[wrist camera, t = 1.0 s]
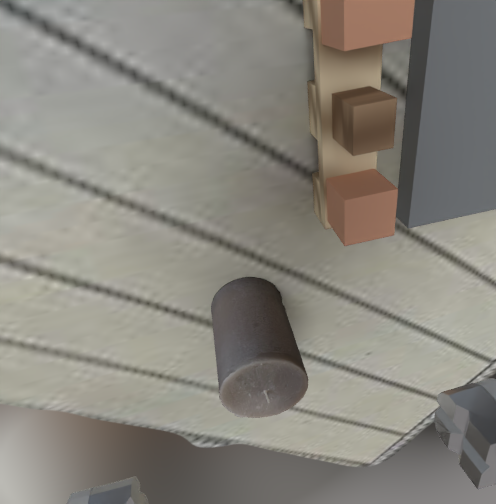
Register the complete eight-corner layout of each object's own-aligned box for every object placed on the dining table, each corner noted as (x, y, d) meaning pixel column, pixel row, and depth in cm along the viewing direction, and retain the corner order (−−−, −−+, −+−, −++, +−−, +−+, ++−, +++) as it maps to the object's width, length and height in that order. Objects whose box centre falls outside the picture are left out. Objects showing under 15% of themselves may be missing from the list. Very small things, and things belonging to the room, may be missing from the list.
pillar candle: (294, 289, 51) (331, 381, 38) (259, 338, 55) (282, 435, 42) (229, 266, 47) (247, 360, 35) (197, 321, 51) (203, 422, 39)
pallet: (300, -43, 31) (340, -56, 23) (365, -55, 31) (424, -71, 24) (314, 212, 44) (342, 254, 37) (359, 202, 45) (395, 243, 37)
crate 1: (319, -32, 28) (344, -37, 24) (383, -44, 28) (419, -51, 24) (321, 44, 31) (344, 51, 27) (380, 32, 31) (411, 38, 27)
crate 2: (326, 178, 38) (344, 200, 34) (374, 168, 38) (398, 188, 34) (327, 221, 41) (344, 246, 36) (372, 211, 41) (394, 235, 37)
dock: (425, -115, 29) (465, -133, 25) (592, -144, 30) (658, -167, 26) (395, 216, 47) (417, 237, 42) (502, 192, 47) (533, 211, 43)
